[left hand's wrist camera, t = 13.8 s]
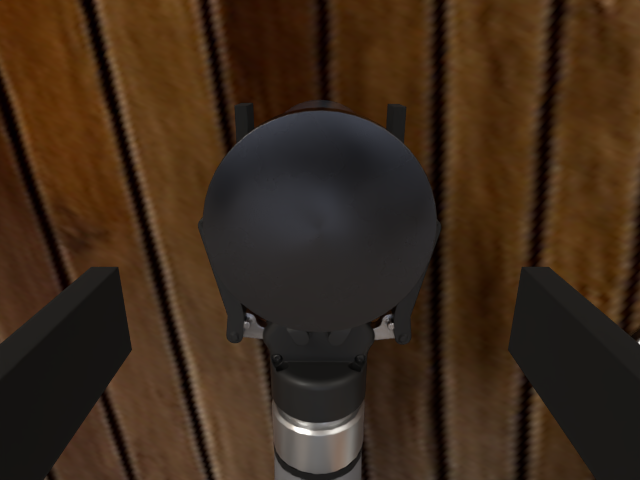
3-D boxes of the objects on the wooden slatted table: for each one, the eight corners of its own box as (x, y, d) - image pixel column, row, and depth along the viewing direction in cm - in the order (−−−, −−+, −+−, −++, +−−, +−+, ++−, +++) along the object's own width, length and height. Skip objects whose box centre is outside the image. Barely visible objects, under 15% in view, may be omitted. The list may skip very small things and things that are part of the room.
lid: (190, 122, 20) (179, 126, 18) (424, 93, 19) (433, 95, 18) (232, 324, 23) (226, 342, 22) (431, 304, 23) (439, 321, 21)
